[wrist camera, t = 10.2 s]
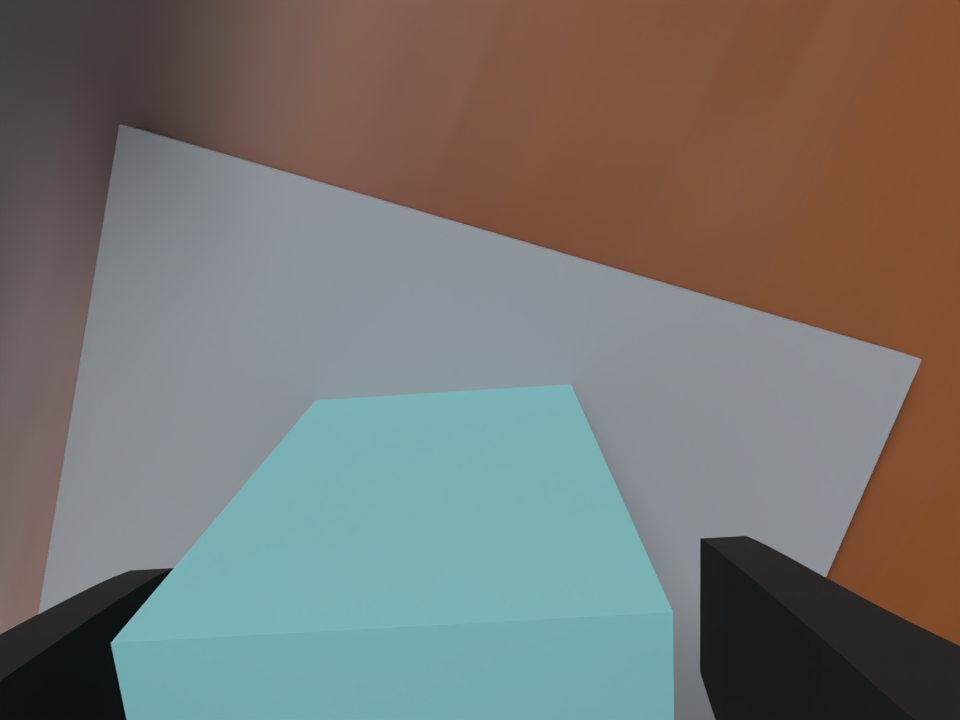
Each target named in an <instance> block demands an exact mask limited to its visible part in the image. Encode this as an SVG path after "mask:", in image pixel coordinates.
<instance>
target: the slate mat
mask: <svg viewBox="0 0 960 720" xmlns="http://www.w3.org/2000/svg"><path fill="white" fill-rule="evenodd" d="M920 362H921V359H919V358H916V357H913V356H911V355H908V354H905V353H902V352H899V351H895V350H892V349H888V348H885V347H882V346H878V345H875V344H871V343H868V342H865V341H861V340H858V339H854V338H851V337H848V336H844V335H841V334H837V333H834V332H831V331H827V330H824V329H820V328H817V327H813V326H810V325H807V324H803V323H800V322H796V321H793V320H790V319H786V318H783V317H779V316H776V315H773V314H769V313H766V312H762V311H759V310H756V309H752V308H749V307H745V306H742V305H738V304H735V303H732V302H728V301H725V300H721V299H718V298H715V297H711V296H708V295H704V294H701V293H698V292H694V291H691V290H687V289H684V288H681V287H677V286H674V285H670V284H667V283H664V282H660V281H657V280H653V279H650V278H646V277H643V276H640V275H636V274H633V273H629V272H626V271H623V270H619V269H616V268H612V267H609V266H606V265H602V264H599V263H595V262H592V261H589V260H585V259H582V258H578V257H575V256H571V255H568V254H565V253H561V252H558V251H554V250H551V249H548V248H544V247H541V246H537V245H534V244H531V243H527V242H524V241H520V240H517V239H514V238H510V237H507V236H503V235H500V234H496V233H493V232H490V231H486V230H483V229H479V228H476V227H473V226H469V225H466V224H462V223H459V222H456V221H452V220H449V219H445V218H442V217H439V216H435V215H432V214H428V213H425V212H422V211H418V210H415V209H411V208H408V207H404V206H401V205H398V204H394V203H391V202H387V201H384V200H381V199H377V198H374V197H370V196H367V195H364V194H360V193H357V192H353V191H350V190H347V189H343V188H340V187H336V186H333V185H329V184H326V183H323V182H319V181H316V180H312V179H309V178H306V177H302V176H299V175H295V174H292V173H289V172H285V171H282V170H278V169H275V168H272V167H268V166H265V165H261V164H258V163H255V162H251V161H248V160H244V159H241V158H237V157H234V156H231V155H227V154H224V153H220V152H217V151H214V150H210V149H207V148H203V147H200V146H197V145H193V144H190V143H186V142H183V141H180V140H176V139H173V138H169V137H166V136H162V135H159V134H156V133H152V132H149V131H145V130H142V129H139V128H135V127H131V126H126V125H120V124H119V129H118V136H117V142H116V148H115V154H114V160H113V166H112V172H111V178H110V184H109V190H108V196H107V202H106V208H105V214H104V220H103V226H102V232H101V238H100V244H99V250H98V256H97V262H96V268H95V274H94V280H93V286H92V292H91V298H90V304H89V310H88V317H87V323H86V329H85V335H84V341H83V347H82V353H81V359H80V365H79V371H78V377H77V383H76V389H75V395H74V401H73V407H72V413H71V419H70V425H69V431H68V437H67V443H66V449H65V455H64V461H63V467H62V473H61V479H60V485H59V492H58V498H57V504H56V510H55V516H54V522H53V528H52V534H51V540H50V546H49V552H48V558H47V564H46V570H45V576H44V582H43V588H42V594H41V600H40V606H39V612H38V614H40V613H42V612H44V611H46V610H48V609H50V608H51V607H53V606H55V605H57V604H59V603H61V602H63V601H65V600H67V599H69V598H71V597H73V596H75V595H76V594H78V593H80V592H82V591H84V590H86V589H88V588H90V587H93V586H95V585H97V584H99V583H101V582H103V581H105V580H107V579H110V578H112V577H114V576H117V575H120V574H122V573H125V572H128V571H130V570H148V569H166V568H174V567H175V566H176V565H177V564H178V563H179V561H180V560H181V559H182V558H183V557H184V555H185V554H186V553H187V552H188V551H189V550H190V548H191V547H192V546H193V545H194V544H195V542H196V541H197V540H198V539H199V538H200V537H201V535H202V534H203V533H204V532H205V531H206V529H207V528H208V527H209V526H210V525H211V523H212V522H213V521H214V520H215V519H216V518H217V516H218V515H219V514H220V513H221V512H222V510H223V509H224V508H225V507H226V506H227V504H228V503H229V502H230V501H231V500H232V499H233V497H234V496H235V495H236V494H237V493H238V491H239V490H240V489H241V488H242V487H243V486H244V484H245V483H246V482H247V481H248V480H249V478H250V477H251V476H252V475H253V474H254V472H255V471H256V470H257V469H258V468H259V467H260V465H261V464H262V463H263V462H264V461H265V459H266V458H267V457H268V456H269V455H270V454H271V452H272V451H273V450H274V449H275V448H276V446H277V445H278V444H279V443H280V442H281V440H282V439H283V438H284V437H285V436H286V435H287V433H288V432H289V431H290V430H291V429H292V427H293V426H294V425H295V424H296V423H297V421H298V420H299V419H300V418H301V417H302V416H303V414H304V413H305V412H306V411H307V410H308V408H309V407H310V406H311V405H312V404H313V403H314V401H315V400H328V399H344V398H360V397H376V396H392V395H408V394H424V393H440V392H455V391H471V390H487V389H503V388H519V387H535V386H551V385H567V384H571V385H572V387H573V390H574V392H575V394H576V396H577V399H578V401H579V403H580V405H581V407H582V410H583V412H584V414H585V416H586V419H587V421H588V423H589V425H590V428H591V430H592V432H593V434H594V437H595V439H596V441H597V443H598V446H599V448H600V450H601V452H602V454H603V457H604V459H605V461H606V463H607V466H608V468H609V470H610V472H611V475H612V477H613V479H614V481H615V484H616V486H617V488H618V490H619V493H620V495H621V497H622V499H623V501H624V504H625V506H626V508H627V510H628V513H629V515H630V517H631V519H632V522H633V524H634V526H635V528H636V531H637V533H638V535H639V537H640V539H641V542H642V544H643V546H644V548H645V551H646V553H647V555H648V557H649V560H650V562H651V564H652V566H653V569H654V571H655V573H656V575H657V578H658V580H659V582H660V584H661V586H662V589H663V591H664V593H665V595H666V598H667V600H668V602H669V604H670V607H671V609H672V611H673V672H674V720H715V717H714V714H713V711H712V708H711V705H710V702H709V699H708V695H707V692H706V689H705V686H704V683H703V680H702V676H701V673H700V538H717V537H735V536H748V537H750V538H752V539H755V540H757V541H759V542H761V543H763V544H765V545H767V546H769V547H771V548H773V549H775V550H777V551H779V552H780V553H782V554H784V555H786V556H788V557H790V558H791V559H793V560H795V561H797V562H799V563H800V564H802V565H804V566H806V567H808V568H809V569H811V570H813V571H815V572H817V573H818V574H820V575H822V576H824V577H826V576H827V574H828V572H829V569H830V567H831V565H832V562H833V560H834V558H835V556H836V553H837V551H838V549H839V547H840V544H841V542H842V540H843V537H844V535H845V533H846V531H847V528H848V526H849V524H850V522H851V519H852V517H853V515H854V512H855V510H856V508H857V506H858V503H859V501H860V499H861V497H862V494H863V492H864V490H865V487H866V485H867V483H868V481H869V478H870V476H871V474H872V472H873V469H874V467H875V465H876V462H877V460H878V458H879V456H880V453H881V451H882V449H883V447H884V444H885V442H886V440H887V437H888V435H889V433H890V431H891V428H892V426H893V424H894V422H895V419H896V417H897V415H898V412H899V410H900V408H901V406H902V403H903V401H904V399H905V397H906V394H907V392H908V390H909V387H910V385H911V383H912V381H913V378H914V376H915V374H916V372H917V369H918V367H919V365H920Z"/></svg>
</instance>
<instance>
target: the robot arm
mask: <svg viewBox="0 0 960 720" xmlns="http://www.w3.org/2000/svg"><path fill="white" fill-rule="evenodd" d="M173 569H174V568H166V569H148V570H130V571H128V572H125V573H122V574H120V575H117V576H114V577H112V578H110V579H107V580H105V581H103V582H101V583H99V584H97V585H95V586H93V587H90V588H88V589H86V590H84V591H82V592H80V593H78V594H76V595H75V596H73V597H71V598H69V599H67V600H65V601H63V602H61V603H59V604H57V605H55V606H53V607H51V608H50V609H48V610H46V611H44V612H42V613H40V614H38V615H36V616H34V617H32V618H31V619H29V620H27V621H25V622H23V623H21V624H19V625H17V626H15V627H14V628H12V629H10V630H8V631H6V632H4V633H2V634H0V720H126V715H125V710H124V705H123V700H122V695H121V691H120V686H119V681H118V676H117V671H116V667H115V662H114V657H113V652H112V647H111V642H112V641H113V640H114V638H115V637H116V636H117V635H118V634H119V633H120V631H121V630H122V629H123V628H124V627H125V625H126V624H127V623H128V622H129V621H130V620H131V618H132V617H133V616H134V615H135V614H136V612H137V611H138V610H139V609H140V608H141V606H142V605H143V604H144V603H145V602H146V601H147V599H148V598H149V597H150V596H151V595H152V593H153V592H154V591H155V590H156V589H157V587H158V586H159V585H160V584H161V583H162V582H163V580H164V579H165V578H166V577H167V576H168V574H169V573H170V572H171V571H172V570H173ZM700 673H701V676H702V680H703V683H704V686H705V689H706V692H707V695H708V699H709V702H710V705H711V708H712V711H713V714H714V717H715V720H960V646H958V645H956V644H954V643H952V642H950V641H948V640H946V639H944V638H942V637H940V636H938V635H935V634H933V633H931V632H929V631H927V630H925V629H923V628H921V627H919V626H917V625H915V624H913V623H911V622H908V621H907V620H905V619H903V618H901V617H899V616H897V615H895V614H893V613H891V612H889V611H887V610H885V609H883V608H881V607H879V606H877V605H875V604H874V603H872V602H870V601H868V600H866V599H864V598H862V597H860V596H859V595H857V594H855V593H853V592H851V591H849V590H847V589H846V588H844V587H842V586H840V585H838V584H836V583H835V582H833V581H831V580H829V579H827V578H826V577H824V576H822V575H820V574H818V573H817V572H815V571H813V570H811V569H809V568H808V567H806V566H804V565H802V564H800V563H799V562H797V561H795V560H793V559H791V558H790V557H788V556H786V555H784V554H782V553H780V552H779V551H777V550H775V549H773V548H771V547H769V546H767V545H765V544H763V543H761V542H759V541H757V540H755V539H752V538H750V537H748V536H735V537H717V538H700Z"/></svg>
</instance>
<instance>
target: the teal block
mask: <svg viewBox="0 0 960 720" xmlns="http://www.w3.org/2000/svg"><path fill="white" fill-rule="evenodd" d="M111 647H112V652H113V657H114V662H115V667H116V671H117V676H118V681H119V686H120V691H121V695H122V700H123V705H124V710H125V715H126V720H674V672H673V611H672V609H671V607H670V604H669V602H668V600H667V598H666V595H665V593H664V591H663V589H662V586H661V584H660V582H659V580H658V578H657V575H656V573H655V571H654V569H653V566H652V564H651V562H650V560H649V557H648V555H647V553H646V551H645V548H644V546H643V544H642V542H641V539H640V537H639V535H638V533H637V531H636V528H635V526H634V524H633V522H632V519H631V517H630V515H629V513H628V510H627V508H626V506H625V504H624V501H623V499H622V497H621V495H620V493H619V490H618V488H617V486H616V484H615V481H614V479H613V477H612V475H611V472H610V470H609V468H608V466H607V463H606V461H605V459H604V457H603V454H602V452H601V450H600V448H599V446H598V443H597V441H596V439H595V437H594V434H593V432H592V430H591V428H590V425H589V423H588V421H587V419H586V416H585V414H584V412H583V410H582V407H581V405H580V403H579V401H578V399H577V396H576V394H575V392H574V390H573V387H572V385H571V384H567V385H551V386H535V387H519V388H503V389H487V390H471V391H455V392H440V393H424V394H408V395H392V396H376V397H360V398H344V399H328V400H315V401H314V403H313V404H312V405H311V406H310V407H309V408H308V410H307V411H306V412H305V413H304V414H303V416H302V417H301V418H300V419H299V420H298V421H297V423H296V424H295V425H294V426H293V427H292V429H291V430H290V431H289V432H288V433H287V435H286V436H285V437H284V438H283V439H282V440H281V442H280V443H279V444H278V445H277V446H276V448H275V449H274V450H273V451H272V452H271V454H270V455H269V456H268V457H267V458H266V459H265V461H264V462H263V463H262V464H261V465H260V467H259V468H258V469H257V470H256V471H255V472H254V474H253V475H252V476H251V477H250V478H249V480H248V481H247V482H246V483H245V484H244V486H243V487H242V488H241V489H240V490H239V491H238V493H237V494H236V495H235V496H234V497H233V499H232V500H231V501H230V502H229V503H228V504H227V506H226V507H225V508H224V509H223V510H222V512H221V513H220V514H219V515H218V516H217V518H216V519H215V520H214V521H213V522H212V523H211V525H210V526H209V527H208V528H207V529H206V531H205V532H204V533H203V534H202V535H201V537H200V538H199V539H198V540H197V541H196V542H195V544H194V545H193V546H192V547H191V548H190V550H189V551H188V552H187V553H186V554H185V555H184V557H183V558H182V559H181V560H180V561H179V563H178V564H177V565H176V566H175V567H174V569H173V570H172V571H171V572H170V573H169V574H168V576H167V577H166V578H165V579H164V580H163V582H162V583H161V584H160V585H159V586H158V587H157V589H156V590H155V591H154V592H153V593H152V595H151V596H150V597H149V598H148V599H147V601H146V602H145V603H144V604H143V605H142V606H141V608H140V609H139V610H138V611H137V612H136V614H135V615H134V616H133V617H132V618H131V620H130V621H129V622H128V623H127V624H126V625H125V627H124V628H123V629H122V630H121V631H120V633H119V634H118V635H117V636H116V637H115V638H114V640H113V641H112V642H111Z"/></svg>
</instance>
